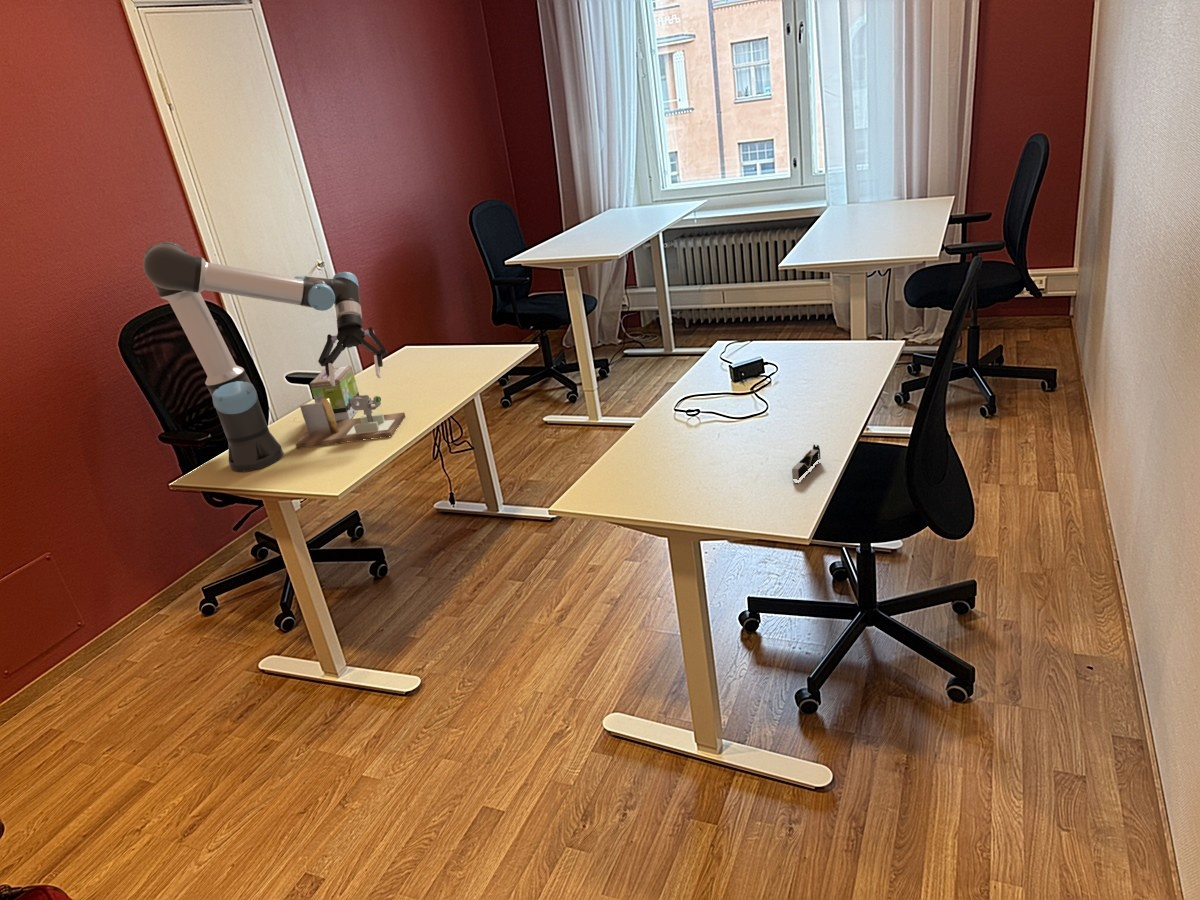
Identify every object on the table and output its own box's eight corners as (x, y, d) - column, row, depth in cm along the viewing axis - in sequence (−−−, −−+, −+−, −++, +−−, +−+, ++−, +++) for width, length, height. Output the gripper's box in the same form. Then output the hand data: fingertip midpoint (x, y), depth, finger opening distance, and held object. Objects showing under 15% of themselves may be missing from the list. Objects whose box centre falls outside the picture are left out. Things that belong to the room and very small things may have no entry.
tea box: (351, 421, 260) (338, 379, 254) (321, 426, 260) (307, 383, 254) (363, 405, 274) (351, 364, 268) (334, 409, 274) (322, 368, 268)
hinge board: (297, 448, 245) (284, 410, 240) (315, 428, 259) (304, 391, 254) (391, 436, 242) (381, 398, 237) (405, 416, 257) (395, 380, 252)
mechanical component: (384, 428, 245) (376, 398, 241) (355, 429, 248) (346, 399, 243) (389, 424, 247) (381, 394, 243) (359, 425, 250) (351, 395, 246)
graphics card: (814, 463, 187) (808, 444, 186) (825, 462, 186) (819, 443, 184) (792, 485, 179) (786, 465, 178) (803, 484, 178) (796, 464, 176)
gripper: (392, 318, 251) (400, 378, 243) (312, 332, 249) (317, 393, 242) (386, 305, 244) (394, 366, 236) (304, 320, 242) (309, 382, 235)
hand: (355, 380), depth 239 cm, fingers open, 13 cm apart
